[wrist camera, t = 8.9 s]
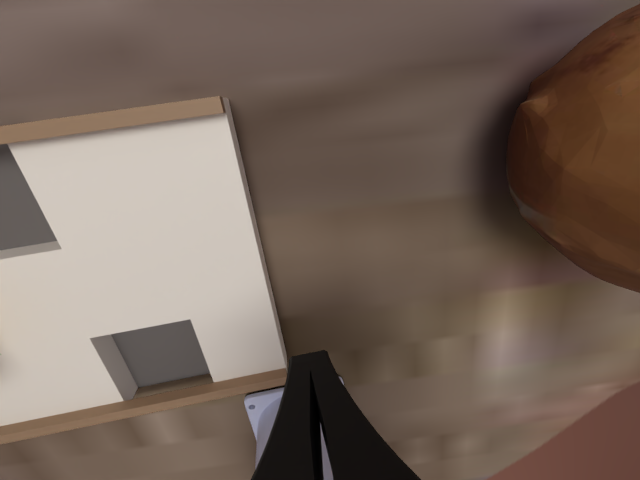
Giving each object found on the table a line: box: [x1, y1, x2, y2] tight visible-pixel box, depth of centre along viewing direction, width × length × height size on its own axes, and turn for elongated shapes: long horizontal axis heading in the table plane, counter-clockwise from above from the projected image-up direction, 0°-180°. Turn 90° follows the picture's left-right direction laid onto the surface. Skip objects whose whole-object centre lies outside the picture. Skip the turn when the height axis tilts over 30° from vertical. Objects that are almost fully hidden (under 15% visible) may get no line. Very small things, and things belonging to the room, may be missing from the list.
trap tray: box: [0, 96, 287, 444], centre depth 17 cm, size 18×22×4 cm
